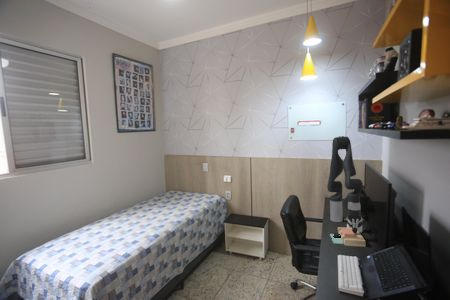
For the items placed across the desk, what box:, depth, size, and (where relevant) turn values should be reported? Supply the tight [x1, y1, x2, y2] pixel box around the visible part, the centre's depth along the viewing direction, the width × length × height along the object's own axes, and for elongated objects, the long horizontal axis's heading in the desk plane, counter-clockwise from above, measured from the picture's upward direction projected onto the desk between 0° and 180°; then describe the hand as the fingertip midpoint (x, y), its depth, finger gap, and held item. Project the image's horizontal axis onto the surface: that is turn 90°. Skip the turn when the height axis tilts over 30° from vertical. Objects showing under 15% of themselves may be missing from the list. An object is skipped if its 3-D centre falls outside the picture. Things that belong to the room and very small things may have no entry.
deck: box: [337, 226, 367, 248], centre depth 156 cm, size 20×12×4 cm, turn 165°
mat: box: [329, 233, 344, 245], centre depth 157 cm, size 14×6×1 cm, turn 165°
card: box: [341, 227, 355, 237], centre depth 155 cm, size 9×6×2 cm, turn 166°
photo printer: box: [346, 216, 363, 233], centre depth 167 cm, size 10×4×12 cm, turn 81°
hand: (354, 232), depth 154 cm, fingers closed
